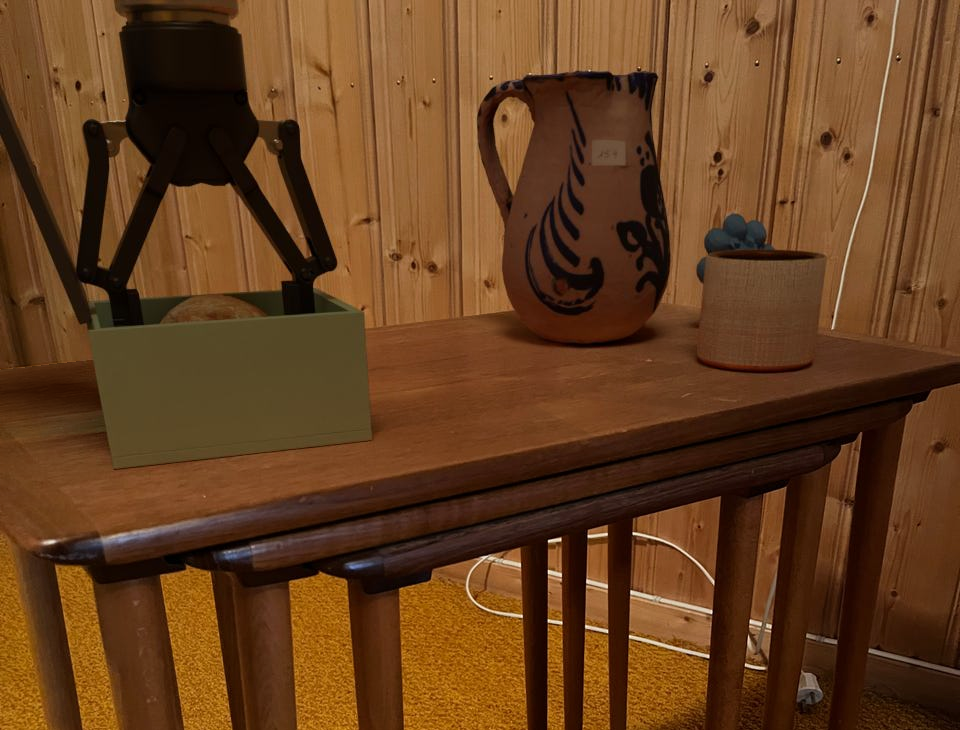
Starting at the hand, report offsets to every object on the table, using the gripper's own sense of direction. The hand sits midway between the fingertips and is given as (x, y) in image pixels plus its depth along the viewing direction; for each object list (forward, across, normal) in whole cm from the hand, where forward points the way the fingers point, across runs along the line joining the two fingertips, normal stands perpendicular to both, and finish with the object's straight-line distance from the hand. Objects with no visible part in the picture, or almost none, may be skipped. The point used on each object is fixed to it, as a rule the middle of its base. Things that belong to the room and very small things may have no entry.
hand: (224, 380), depth 71 cm
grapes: (+4, +60, +22) cm, 64 cm away
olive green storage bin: (+4, 0, 0) cm, 4 cm away
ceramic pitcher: (+4, +40, +25) cm, 47 cm away
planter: (+4, +50, +5) cm, 50 cm away
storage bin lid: (-15, -10, 0) cm, 18 cm away
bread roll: (0, 0, 0) cm, 0 cm away
